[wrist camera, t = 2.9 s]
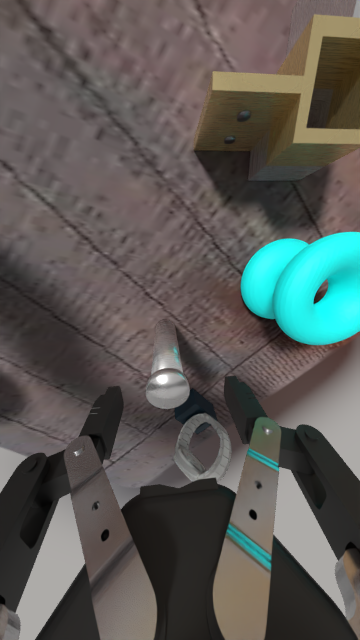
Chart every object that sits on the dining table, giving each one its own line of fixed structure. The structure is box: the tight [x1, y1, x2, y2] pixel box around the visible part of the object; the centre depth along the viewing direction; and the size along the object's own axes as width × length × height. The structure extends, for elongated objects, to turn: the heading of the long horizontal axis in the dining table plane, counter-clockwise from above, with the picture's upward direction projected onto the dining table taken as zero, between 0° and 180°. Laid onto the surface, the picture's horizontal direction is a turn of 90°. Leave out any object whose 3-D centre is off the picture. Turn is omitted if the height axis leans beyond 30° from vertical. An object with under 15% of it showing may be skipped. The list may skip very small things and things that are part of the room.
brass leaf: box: [194, 14, 360, 166], centre depth 14 cm, size 12×6×7 cm, turn 92°
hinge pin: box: [146, 319, 190, 409], centre depth 19 cm, size 3×3×12 cm
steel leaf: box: [248, 0, 360, 181], centre depth 14 cm, size 6×12×7 cm, turn 2°
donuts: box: [241, 232, 360, 345], centre depth 19 cm, size 10×10×10 cm
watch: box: [174, 388, 231, 482], centre depth 25 cm, size 6×8×11 cm
